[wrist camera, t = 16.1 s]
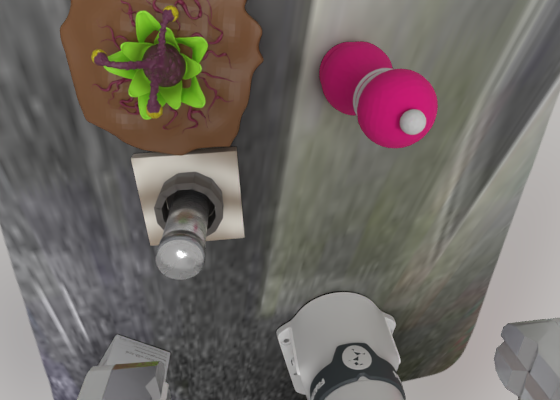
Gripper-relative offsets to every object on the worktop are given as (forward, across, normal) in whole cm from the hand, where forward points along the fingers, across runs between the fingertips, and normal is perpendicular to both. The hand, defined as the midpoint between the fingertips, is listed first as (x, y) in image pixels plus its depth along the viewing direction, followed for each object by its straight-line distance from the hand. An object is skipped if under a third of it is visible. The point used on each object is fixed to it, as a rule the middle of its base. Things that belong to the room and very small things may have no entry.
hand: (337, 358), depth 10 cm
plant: (+40, +9, -1) cm, 41 cm away
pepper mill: (+39, -10, +1) cm, 41 cm away
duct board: (+39, +9, +15) cm, 43 cm away
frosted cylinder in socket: (+37, +9, +15) cm, 41 cm away
